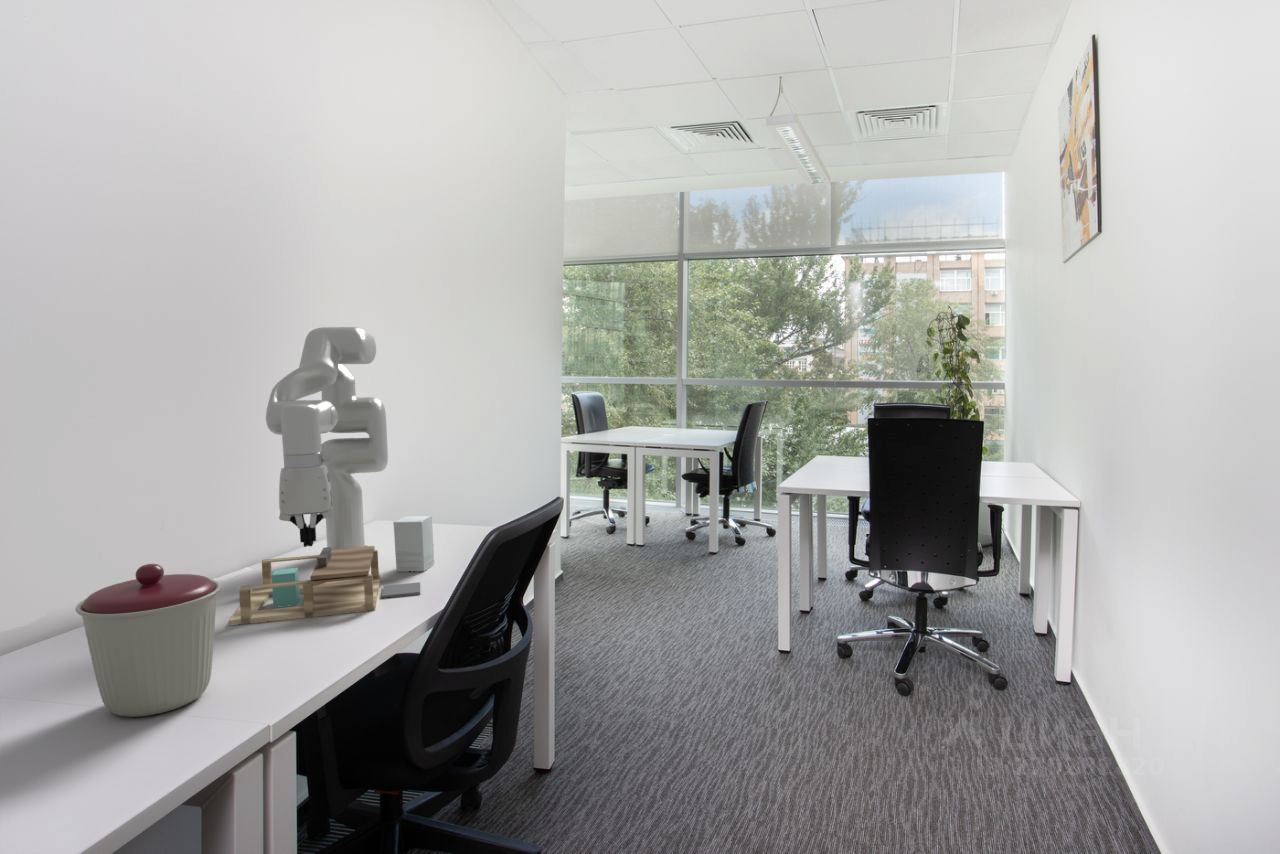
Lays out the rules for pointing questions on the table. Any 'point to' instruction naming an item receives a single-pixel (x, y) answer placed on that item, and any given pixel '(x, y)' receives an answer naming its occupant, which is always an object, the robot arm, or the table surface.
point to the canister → (151, 640)
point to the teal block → (285, 587)
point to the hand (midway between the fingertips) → (308, 544)
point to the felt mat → (401, 590)
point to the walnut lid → (343, 562)
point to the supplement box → (413, 543)
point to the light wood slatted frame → (309, 595)
